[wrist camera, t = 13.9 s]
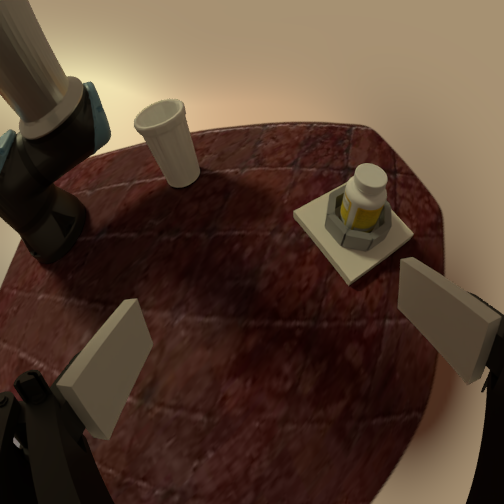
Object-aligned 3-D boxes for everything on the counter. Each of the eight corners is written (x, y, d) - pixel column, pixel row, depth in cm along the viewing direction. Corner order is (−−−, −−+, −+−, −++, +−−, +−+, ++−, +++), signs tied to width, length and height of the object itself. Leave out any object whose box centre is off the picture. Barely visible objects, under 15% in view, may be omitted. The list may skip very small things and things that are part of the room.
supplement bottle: (380, 223, 37) (400, 177, 28) (359, 245, 36) (378, 200, 27) (352, 201, 39) (365, 153, 31) (330, 221, 38) (340, 173, 29)
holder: (293, 217, 41) (293, 198, 37) (356, 182, 43) (361, 163, 39) (348, 285, 35) (356, 271, 31) (410, 239, 37) (421, 222, 33)
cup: (205, 156, 49) (185, 93, 37) (206, 187, 46) (182, 119, 33) (164, 166, 50) (138, 107, 37) (161, 197, 46) (128, 135, 33)
